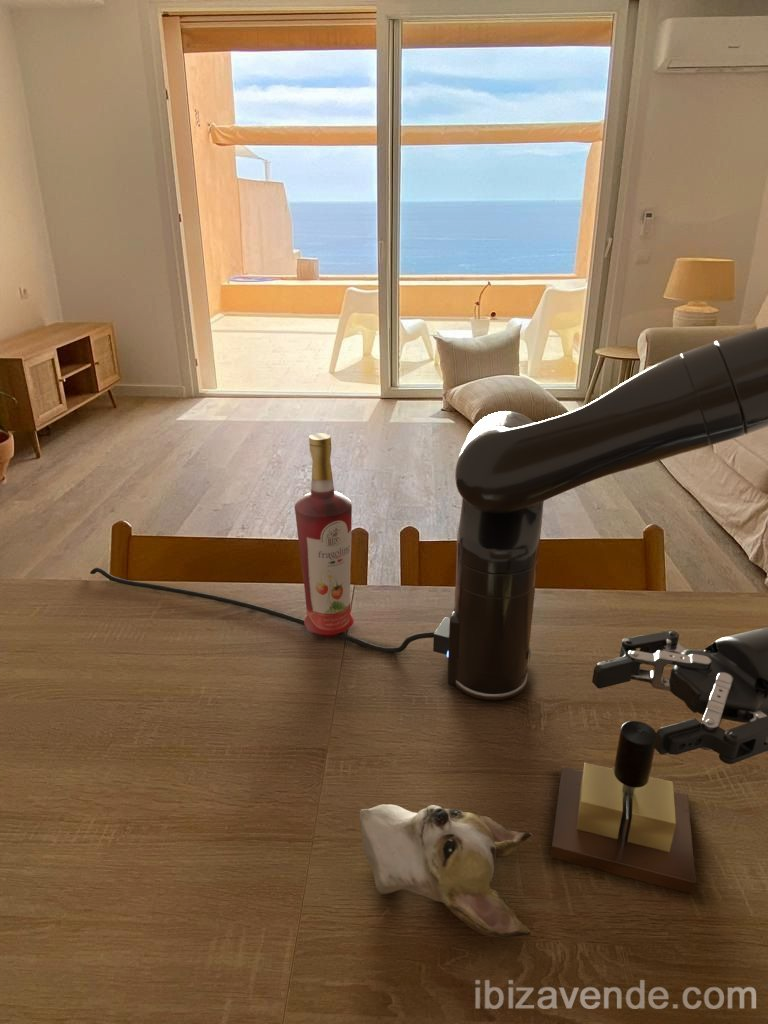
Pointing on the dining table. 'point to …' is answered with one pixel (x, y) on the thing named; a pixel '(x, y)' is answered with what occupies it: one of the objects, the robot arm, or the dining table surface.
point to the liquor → (325, 546)
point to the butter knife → (633, 762)
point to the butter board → (629, 853)
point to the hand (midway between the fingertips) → (624, 707)
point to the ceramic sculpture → (443, 861)
